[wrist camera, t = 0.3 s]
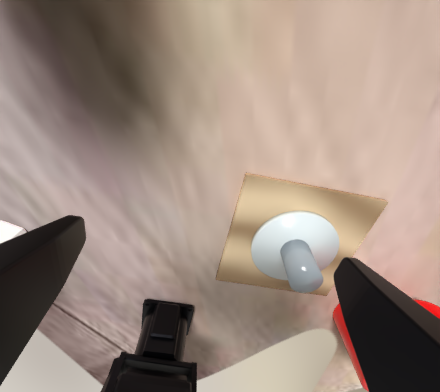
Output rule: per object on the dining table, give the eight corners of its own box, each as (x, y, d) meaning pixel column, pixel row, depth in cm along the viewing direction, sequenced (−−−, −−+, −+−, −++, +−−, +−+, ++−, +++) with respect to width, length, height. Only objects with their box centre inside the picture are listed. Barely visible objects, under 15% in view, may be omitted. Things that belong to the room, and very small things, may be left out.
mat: (324, 292, 30) (326, 295, 30) (216, 276, 29) (216, 279, 28) (385, 199, 23) (388, 202, 23) (245, 172, 22) (246, 175, 22)
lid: (315, 279, 28) (331, 317, 24) (241, 268, 28) (245, 305, 23) (351, 218, 24) (378, 253, 20) (264, 203, 23) (274, 235, 19)
